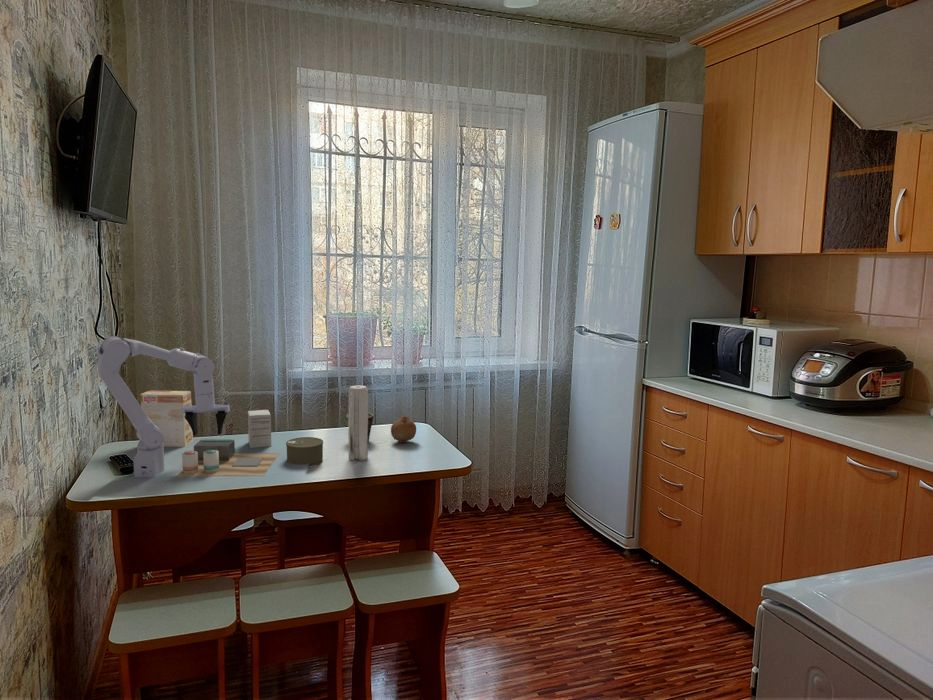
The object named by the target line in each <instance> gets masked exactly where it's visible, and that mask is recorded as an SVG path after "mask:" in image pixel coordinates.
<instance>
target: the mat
mask: <svg viewBox="0 0 933 700" xmlns="http://www.w3.org/2000/svg"><path fill="white" fill-rule="evenodd" d="M262 460H263V458H238V459H237V460H236V461H235V462H234V463H233V465H232V466H258V465H259V464H260V462H261V461H262Z"/></svg>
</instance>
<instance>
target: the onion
mask: <svg viewBox="0 0 933 700" xmlns="http://www.w3.org/2000/svg"><path fill="white" fill-rule="evenodd" d="M390 433H391V436H392V438H393V439H394V440H395V441H397V442H399V443H405V442H408V441H411V440H412V439H414V438H415V436H416V435H417V434H416V433H417V426H416V424H415V422H414V421H413V420H412V419H410V418H408V417H406V416H405V415H403V416H401V417H400V418H399V419H397V420H395V421H394V422H392V424H391V427H390Z"/></svg>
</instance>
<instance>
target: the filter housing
mask: <svg viewBox="0 0 933 700" xmlns="http://www.w3.org/2000/svg"><path fill="white" fill-rule="evenodd" d="M235 444H236V443H235V439H231V438H230V439H225V438H223V439H216V438H215V439H208V438H207V439H200V440H199V441H198V442H196V443H195V444H194V445H193V451H197V452H198V461H204V458H203V452H205V451H207V450H217V451H219V461H229V460H230V459H231V458H232V457H233V456H234V455H235V453H236V452H235V451H236V448H235Z"/></svg>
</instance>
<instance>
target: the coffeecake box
mask: <svg viewBox="0 0 933 700" xmlns="http://www.w3.org/2000/svg"><path fill="white" fill-rule="evenodd" d="M140 406H141V407H142V409H143V410H144V412H145V413H146V415H147V416H148V418H149V419H150V420H151V422H152V423H154V424H155V425H156V426H157V427H158V428H159V429H160V430H162V431H163V433H164V441H163V446H164V448H166V447H183V448H184V447H187V446H189V445H190V444H191V443H193V442H194V435H193V432H192V429H191V427H190V425H189V423H188V422H187V420H186V419H185V417H184V416H185V414H182V410H181V408H182V407H183V406H193V404H192V391H191V390H154V389H153V390H147V391H144V392H142V393H140Z"/></svg>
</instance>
